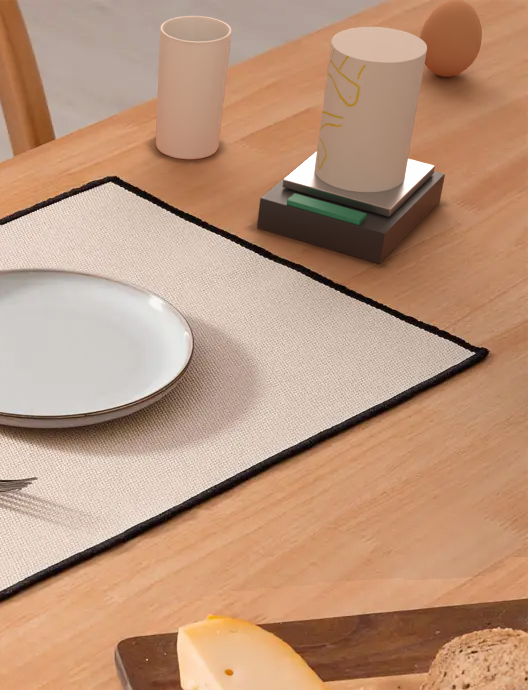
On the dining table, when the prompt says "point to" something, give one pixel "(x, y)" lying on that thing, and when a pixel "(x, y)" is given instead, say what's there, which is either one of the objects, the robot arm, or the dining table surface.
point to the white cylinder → (369, 108)
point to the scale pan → (370, 201)
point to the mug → (191, 85)
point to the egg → (451, 38)
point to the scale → (346, 220)
